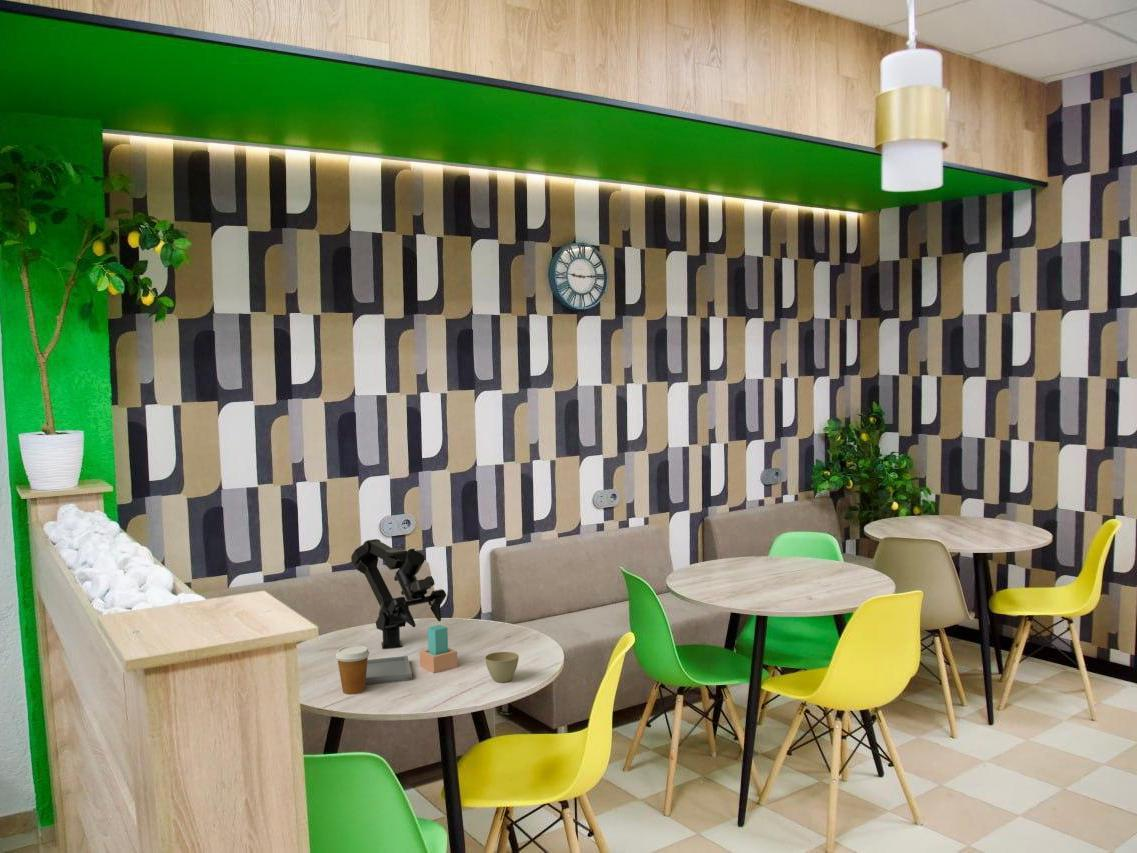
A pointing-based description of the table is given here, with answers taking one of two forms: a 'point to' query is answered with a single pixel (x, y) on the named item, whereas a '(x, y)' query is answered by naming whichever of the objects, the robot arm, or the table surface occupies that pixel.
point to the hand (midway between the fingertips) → (427, 623)
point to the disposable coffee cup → (353, 668)
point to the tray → (388, 670)
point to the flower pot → (502, 665)
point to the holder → (438, 661)
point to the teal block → (437, 640)
